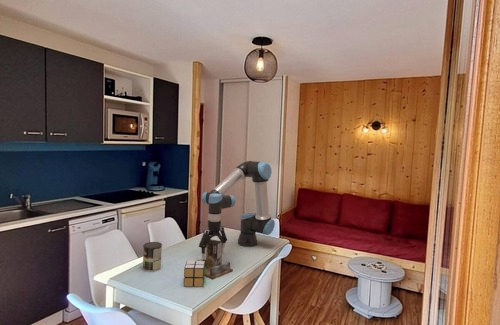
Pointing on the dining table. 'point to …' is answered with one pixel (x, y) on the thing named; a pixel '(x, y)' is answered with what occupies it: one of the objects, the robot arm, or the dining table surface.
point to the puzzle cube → (194, 274)
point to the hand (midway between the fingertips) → (213, 256)
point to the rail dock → (207, 273)
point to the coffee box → (213, 254)
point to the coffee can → (152, 256)
